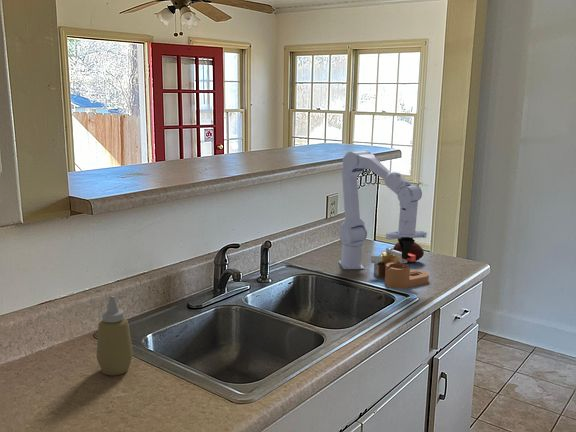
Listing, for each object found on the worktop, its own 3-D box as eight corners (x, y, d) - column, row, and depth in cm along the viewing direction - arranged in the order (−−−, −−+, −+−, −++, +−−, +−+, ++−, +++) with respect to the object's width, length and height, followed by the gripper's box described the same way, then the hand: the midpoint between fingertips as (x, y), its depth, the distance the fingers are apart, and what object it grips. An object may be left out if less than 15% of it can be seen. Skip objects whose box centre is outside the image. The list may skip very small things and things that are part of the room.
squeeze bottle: (113, 382, 122) (110, 306, 118) (89, 372, 126) (85, 298, 122) (141, 368, 129) (138, 295, 125) (117, 358, 133) (114, 288, 129)
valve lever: (384, 253, 199) (384, 247, 199) (389, 252, 201) (389, 246, 200) (410, 261, 190) (411, 256, 189) (415, 260, 191) (416, 255, 191)
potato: (386, 259, 221) (387, 239, 219) (406, 255, 227) (408, 236, 225) (407, 267, 211) (408, 246, 209) (427, 263, 217) (429, 242, 215)
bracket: (396, 290, 186) (397, 271, 184) (379, 283, 193) (380, 264, 191) (433, 282, 195) (434, 263, 194) (416, 275, 202) (417, 257, 201)
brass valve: (368, 272, 203) (369, 251, 201) (402, 272, 204) (403, 251, 203) (372, 278, 197) (374, 256, 195) (407, 277, 199) (409, 256, 197)
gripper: (394, 223, 182) (391, 263, 185) (432, 222, 186) (429, 260, 189) (384, 219, 189) (381, 257, 192) (421, 217, 193) (418, 254, 196)
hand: (404, 258), depth 191 cm, fingers closed, pressing on valve lever
